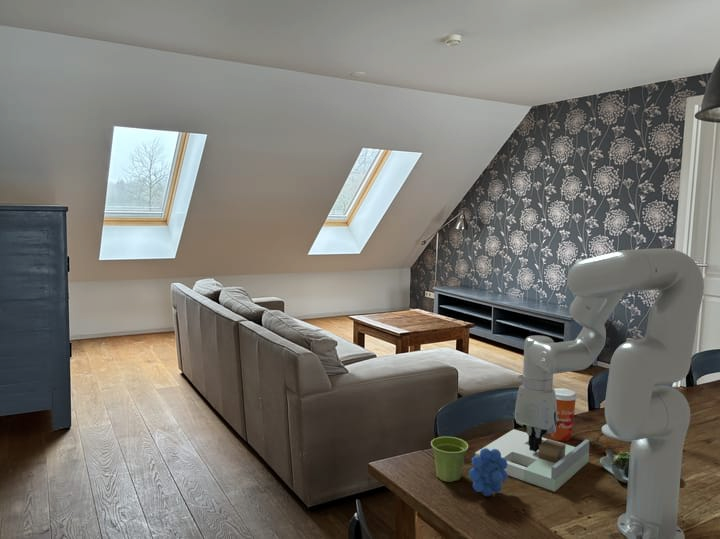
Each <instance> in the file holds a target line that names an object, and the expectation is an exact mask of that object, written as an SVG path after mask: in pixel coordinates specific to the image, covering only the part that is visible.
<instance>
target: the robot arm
mask: <svg viewBox="0 0 720 539" xmlns="http://www.w3.org/2000/svg"><path fill="white" fill-rule="evenodd" d="M702 273H703V272H702V271H701V269H700V267H699V266H698V264H697V263H696V261H695V260H694V259H693V258H691V257H690V256H689V255H688V254H686V253H684V252H682V251H680V250H677V249H673V248H672V249H671V248H658V247H657V248H641V249H638V248H636V249H624V250H623V249H622V250H617V251H612V252H609V253H605V254H600V255H597V256H592V257H586V258H583V259H579V260H577V262H575V263H574V264H573V265H572V266H571V268H570V269H569V271H568V274H567V278H566V279H567V287H568V289H569V291H570V292H571V293H572V294H573V295H574V296H575V298H574V299H573V301H572V302H571V304H570V306H569V310H568V311H569V314H570V316H571V318H572V319H573V320H574V321H575V322H576V323H577V324H579V325H580V326H582V329H581V331H580V332H579V333H578V335H577V337H576V338H575V339H574V340H567V341H566V340H565V341H559V342H555V340H553V339H552V338H551V337H549V336H546V335H538V334H537V335H529V336H526V338H525V340H524V342H523V343H524V345H523V346H524V347H523V368H522V369H523V371H522V373H523V374H519V375H518V380H519V381H521V385H519V388H518V390H517V393H516V394H517V395H516V401H515V407H514V408H515V409H514V420H515V422H516V424H518V425H519V426H521V427H523V429H524V430H525V431H526V433H527V434H528V435H529V443H528V445H529V446H530V448H529V450H531V451H534V452H536V451H538V450H539V445H540V444H541V443H542V438H543V436H544V435H545V434H554V433H555V432H556V426H555V425H556V423H557V401H556V394H555V390H554V389H555V388H554V386H553V385H554V375H555V374H562V373H569V372H575V371H583V370H586V369H587V368H589V367H590V366H592V365H593V363H594V362H595V361H596V359H597V358H598V356H599V355H600V354H601V353H602V350H603V349H604V347H605V345H606V340H607V338H606V337H607V331H606V330H607V328H606V326H605V324H606V323H607V321H608V320H609V318H610V316H611V314H612V313H613V311H614V310H615V308H616V307H617V306H618V304H619V302H620V301H621V299H622V298H623V297H624V295H625V294H627V293H636V292H646V291H647V292H648V291H649V292H650V291H658V292H659V294H658V296H657V298H656V299H655V300H654V302H653V304H652V306H651V308H650V311H649V313H648V319H647V326H646V331H645V334H644V336H643V338H638V339H634V340H630V341H627V340H626V341H627V342H626V341H625V342H623V343H622V344H620V345H619V346H618V347H617V348H616V349H615V351H614V352H613V354H612V356H611V358H610V364H609V369H608V377H607V384H606V392H605V400H604V417H605V418H604V419H605V422H606V424H607V425H608V427H609V428H610V430H611V431H612V432H613V434H615V435H616V436H617V437H619V438H621V439H624V440H630V441H631V440H632V442H630V443H631V444H630V449H629V452H630V457H629V473H628V485H627V494H626V508H625V509H626V510H625V512H624V513H622V514H621V515H619V516H618V518H617V524H616V525H617V528H618V530H619V532H620V533H621V534H622V535H623V536H625V537H626V539H685V533H684V531H683V530H682V529H681V527H680V526H678V512H679V500H680V486H681V485H680V484H681V473H682V472H681V471H682V470H681V469H682V464H683V463H682V462H683V452H684V451H683V450H684V443H685V439H686V436H687V433H688V430H689V426H690V421H691V408H690V404H689V401H688V400H687V398H686V397H685V395H684V394H683V393H682V392H681V391H679V390H678V389H676V388H674V387H672V386H667V385H670V384H674V383H678V382H681V381H682V380H684V379H685V378H686V377H687V375H688V374H689V372H690V369H691V363H692V356H693V353H694V352H693V351H694V346H695V345H694V344H695V337H696V332H697V326H698V325H697V324H698V319H699V318H698V317H699V314H700V310H701V306H702V302H703V296H704V291H705V289H704V288H705V284H704V277H703V274H702Z"/></svg>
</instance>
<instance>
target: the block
mask: <svg viewBox="0 0 720 539" xmlns="http://www.w3.org/2000/svg"><path fill="white" fill-rule="evenodd" d="M546 439H547V440H545V441H544V442H543V443H541V444H540V445H539V458H541V459H544V460H547V461H550V462H554V463H557V462H558V461H559V460H561V459H562V458H563V457H564V456H565V446H566V445H567V444H566V443H563V444H562V442H560V443H559V441H556V442H555V440H553V441H552V439H549V440H548V438H546ZM565 444H566V445H565Z"/></svg>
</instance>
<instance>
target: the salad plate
mask: <svg viewBox="0 0 720 539" xmlns="http://www.w3.org/2000/svg"><path fill="white" fill-rule="evenodd" d="M605 454H606V456H602V457H600V459H599V464H600V466H602V468H604V470H606V471H607V472H608V473H610V474H611V475H612V476H613V477H614V478H615V479H616V480H618V481H619V482H621V483H622V484H625V485H627V486H628V473H629V457H630V451H629V452H627V451H626V452H623V451H622V450H619V454H614V451H613V449H609V448H608V449H605Z"/></svg>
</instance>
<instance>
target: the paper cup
mask: <svg viewBox="0 0 720 539" xmlns="http://www.w3.org/2000/svg"><path fill="white" fill-rule="evenodd" d="M553 389H554V390H555V394H556V401H557V423H556V425H555V426H556V432H555V433H554V434H551V436H550V437H551V438H552V437H553V438H552V439H554V440H556V439H557V440H556V441H561V442H568V441H570V439H571V440H572V434H573V428H574V427H573V426H574V420H575V419H574V417H575V408H576V400H577V399H578V396H577V393H576V392H575V391H574V390H571V389H567V388H562V387H561V388H553Z"/></svg>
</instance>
